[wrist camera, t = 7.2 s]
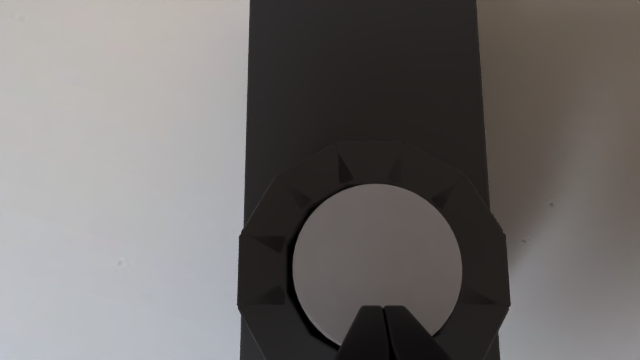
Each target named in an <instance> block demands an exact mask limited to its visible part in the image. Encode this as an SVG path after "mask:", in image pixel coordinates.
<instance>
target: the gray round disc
mask: <svg viewBox="0 0 640 360" xmlns="http://www.w3.org/2000/svg"><path fill="white" fill-rule="evenodd" d="M292 268H293V280H294V286H295V290H296V293H297V296H298V299H299V302H300V304H301V306H302V308H303V310H304V312H305V313H306V315H307V316H308V318H309V320H310V321H311V322H312V323H313V324H314V325H315V327H316V328H317V329H318V330H319V331H320V332H321V333H323V334H324V335H325V336H326V337H327V338H329V339H330V340H332V341H333V342H335V343H336V344H338V345H340V346H341V344H342V342H343V340H344V338H345V336H346V334H347V332H348V330H349V328H350V326H351V324H352V322H353V321H354V319H355V317H356V315H357V313H358V311H359V309H360V307H361V306H363V305H380V306H381V307H382V308H384V306H386V305H403V306H405V307H406V308H407V309H408V310H409V311H410V312H411V313H412V314H413V316H414V317H415V318H416V319H417V320H418V321H419V322H420V323H421V325H422V326H423V327H424V328H425V329H426V330H427V331H428V332H429V333H430V335H431V336H433V335H434V334H435V333H436V332H437V331H438V330H439V329H440V328H441V327H442V326H443V324H444V323H445V322H446V321H447V319H448V318H449V316H450V314H451V313H452V311H453V309H454V307H455V304H456V302H457V299H458V296H459V292H460V289H461V282H462V261H461V254H460V250H459V246H458V243H457V240H456V238H455V235H454V233H453V231H452V230H451V228H450V226H449V224H448V223H447V221H446V220H445V219H444V217H443V216H442V215H441V214H440V213H439V211H438V210H437V209H436V208H435V207H434V206H432V205H431V204H430V203H429V202H428V201H426V200H425V199H423V198H422V197H420V196H419V195H417V194H415V193H413V192H411V191H409V190H406V189H403V188H400V187H397V186H392V185H387V184H365V185H359V186H355V187H351V188H348V189H345V190H343V191H341V192H339V193H337V194H335V195H333V196H332V197H330V198H329V199H327V200H326V201H324V202H323V203H322V204H321V205H320V206H319V207H318V208H317V209H316V210H315V211H314V212H313V213H312V214H311V215H310V217H309V218H308V220H307V221H306V223H305V224H304V226H303V228H302V230H301V232H300V234H299V236H298V239H297V242H296V245H295V250H294V255H293V266H292Z"/></svg>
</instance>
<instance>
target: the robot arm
mask: <svg viewBox="0 0 640 360" xmlns="http://www.w3.org/2000/svg"><path fill="white" fill-rule="evenodd" d="M334 360H453V359H452V358H451V357H450V356H449V355H448V354H447V352H446V351H445V350H444V349H443V348H442V347H441V346H440V345H439V344H438V342H437V341H436V340H435V339H434V338H433V337H432V336H431V335H430V333H429V332H428V331H427V330H426V329H425V328H424V327H423V326H422V325H421V323H420V322H419V321H418V320H417V319H416V318H415V317H414V316H413V314H412V313H411V312H410V311H409V310H408V309H407V308H406V307H405V306H403V305H386V306H384V308H382V307H381V306H380V305H363V306H361V307H360V309H359V311H358V313H357V315H356V317H355V319H354V321H353V322H352V324H351V326H350V328H349V330H348V332H347V334H346V336H345V338H344V340H343V342H342V344H341V346H340V348H339V350H338V352H337V354H336V356H335V358H334Z"/></svg>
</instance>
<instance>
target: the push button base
mask: <svg viewBox="0 0 640 360" xmlns="http://www.w3.org/2000/svg"><path fill="white" fill-rule="evenodd" d="M365 184H387V185H392V186H397V187H400V188H403V189H406V190H409V191H411V192H413V193H415V194H417V195H419V196H420V197H422V198H423V199H425V200H426V201H428V202H429V203H430V204H431V205H432V206H434V207H435V208H436V209H437V210H438V211H439V213H440V214H441V215H442V216H443V217H444V219H445V220H446V221H447V223H448V224H449V226H450V228H451V230H452V231H453V233H454V235H455V238H456V240H457V243H458V246H459V250H460V254H461V261H462V282H461V289H460V292H459V296H458V299H457V302H456V304H455V307H454V309H453V311H452V313H451V314H450V316H449V318H448V319H447V321H446V322H445V323H444V324H443V326H442V327H441V328H440V329H439V330H438V331H437V332H436V333H435V334H434V335H433V336H432V337H433V338H434V339H435V340H436V341H437V342H438V344H439V345H440V346H441V347H442V348H443V349H444V350H445V351H446V352H447V354H448V355H449V356H450V357H451V358H452V359H453V360H500V351H499V336H498V331H499V329H500V327H501V324H502V322H503V320H504V318H505V316H506V314H507V312H508V310H509V306H510V305H511V302H510V289H509V275H508V261H507V247H506V235H505V234H504V233H503V230H502V228H501V227H500V225H499V224H498V222H497V221H496V219H495V218H494V216H493V215H492V213H491V212H490V202H489V187H488V172H487V157H486V142H485V127H484V112H483V97H482V82H481V67H480V52H479V38H478V23H477V8H476V0H250V17H249V53H248V89H247V124H246V160H245V196H244V228H243V230H242V231H241V235H240V236H239V260H238V293H237V306H238V310H239V312H240V313H241V340H240V360H334V358H335V356H336V354H337V352H338V350H339V348H340V345H338V344H336V343H335V342H333V341H332V340H330V339H329V338H327V337H326V336H325V335H324V334H323V333H321V332H320V331H319V330H318V329H317V328H316V327H315V325H314V324H313V323H312V322H311V321H310V320H309V318H308V316H307V315H306V313H305V312H304V310H303V308H302V306H301V304H300V302H299V299H298V296H297V293H296V290H295V286H294V280H293V268H292V266H293V255H294V250H295V245H296V242H297V239H298V236H299V234H300V232H301V230H302V228H303V226H304V224H305V223H306V221H307V220H308V218H309V217H310V215H311V214H312V213H313V212H314V211H315V210H316V209H317V208H318V207H319V206H320V205H321V204H322V203H323V202H324V201H326V200H327V199H329V198H330V197H332V196H333V195H335V194H337V193H339V192H341V191H343V190H345V189H348V188H351V187H355V186H359V185H365Z"/></svg>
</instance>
